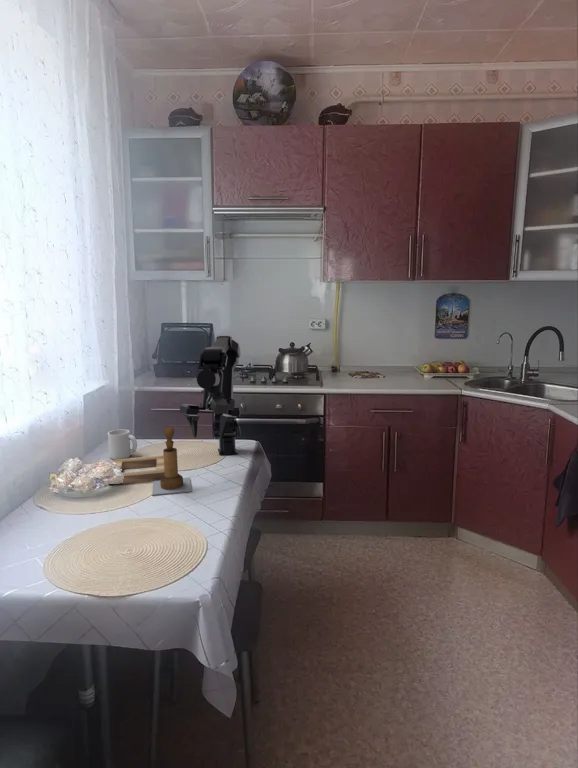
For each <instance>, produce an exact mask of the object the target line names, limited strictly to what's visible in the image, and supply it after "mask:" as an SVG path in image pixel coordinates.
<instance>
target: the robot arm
mask: <svg viewBox="0 0 578 768" xmlns="http://www.w3.org/2000/svg"><path fill="white" fill-rule="evenodd" d="M240 358H241V347H240V343H238V342H236V340H233V338H232V336H230V335H218V336H216V339H215V341H214V343H213V344H212V346H208V347H205V348H203V349H202V351H201V353H200V355H199V361H198V367H197V369H198V370H201V371H200V372H199V373H198V375H197V377H196V382H197V385H198V386H199V388H201V389H202V390H200V391H201V395H202V401H201V402H200V404H199V405H197V404H191V403H182V404H181V405H180V407H179V413H180V414H183V416H184V417H186V419H187V421H188V423H189V427H190V430H191V433H192V437H193V438H194V439H195V438H196V439H197V435H198V421H199V419H200V415H198V414H214V419H213V421H212V431H213V437H214V438H218V441H219V448H217V452H218V455H219V456H225V455H227V456H228V455H236V454H237V455H238V453H239V452H238V450H237V447H236V438H238V437H241V427H240V424H239V420H237V417H241V409H240V408H239V407H238V406H236V400H235V399H234V398H233V397H234V375H235V369H236V367H237V366H238V364H239V360H240Z"/></svg>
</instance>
